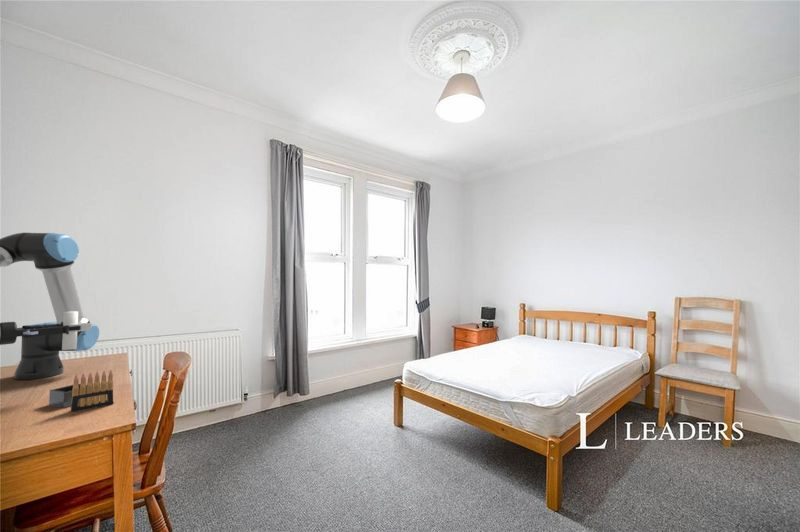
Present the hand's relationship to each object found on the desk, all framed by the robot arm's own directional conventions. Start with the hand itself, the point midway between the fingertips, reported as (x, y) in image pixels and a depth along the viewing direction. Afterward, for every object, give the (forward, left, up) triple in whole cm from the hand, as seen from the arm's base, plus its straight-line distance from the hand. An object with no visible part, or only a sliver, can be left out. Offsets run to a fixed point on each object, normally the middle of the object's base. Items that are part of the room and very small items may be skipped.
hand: (88, 326), depth 134 cm
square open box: (+11, -10, -25) cm, 29 cm away
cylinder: (-1, -5, -8) cm, 10 cm away
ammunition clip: (+23, -10, -25) cm, 35 cm away
